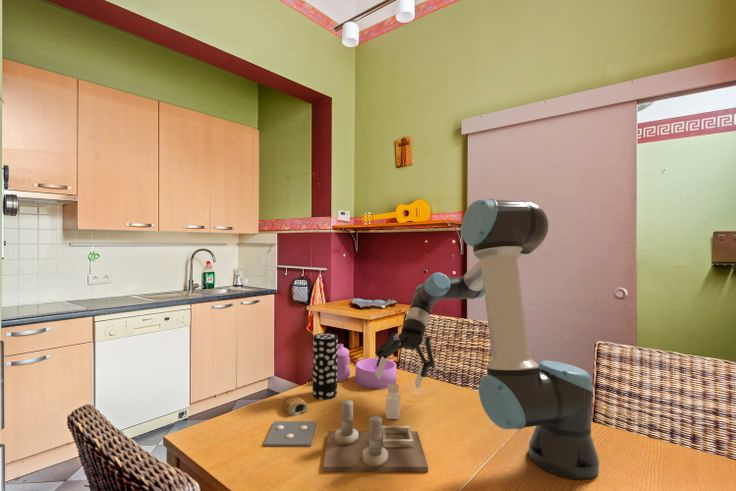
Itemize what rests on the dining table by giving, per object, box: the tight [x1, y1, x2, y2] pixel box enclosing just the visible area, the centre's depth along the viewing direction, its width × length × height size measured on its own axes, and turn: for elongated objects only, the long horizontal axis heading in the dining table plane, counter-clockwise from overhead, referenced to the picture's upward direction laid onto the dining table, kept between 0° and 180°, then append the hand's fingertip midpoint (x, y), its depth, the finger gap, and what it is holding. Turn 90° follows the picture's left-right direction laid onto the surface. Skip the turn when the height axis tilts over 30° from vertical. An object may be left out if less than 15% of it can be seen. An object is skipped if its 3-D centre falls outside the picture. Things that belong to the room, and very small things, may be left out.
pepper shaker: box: [385, 383, 401, 420], centre depth 113 cm, size 4×4×10 cm
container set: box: [337, 343, 397, 390], centre depth 142 cm, size 25×15×13 cm, turn 82°
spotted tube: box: [312, 332, 339, 401], centre depth 128 cm, size 8×8×20 cm
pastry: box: [282, 396, 309, 417], centre depth 118 cm, size 9×7×4 cm
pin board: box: [322, 399, 429, 473], centre depth 94 cm, size 24×16×11 cm, turn 91°
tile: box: [263, 420, 317, 447], centre depth 102 cm, size 12×12×1 cm
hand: (396, 381), depth 117 cm, fingers open, 13 cm apart
